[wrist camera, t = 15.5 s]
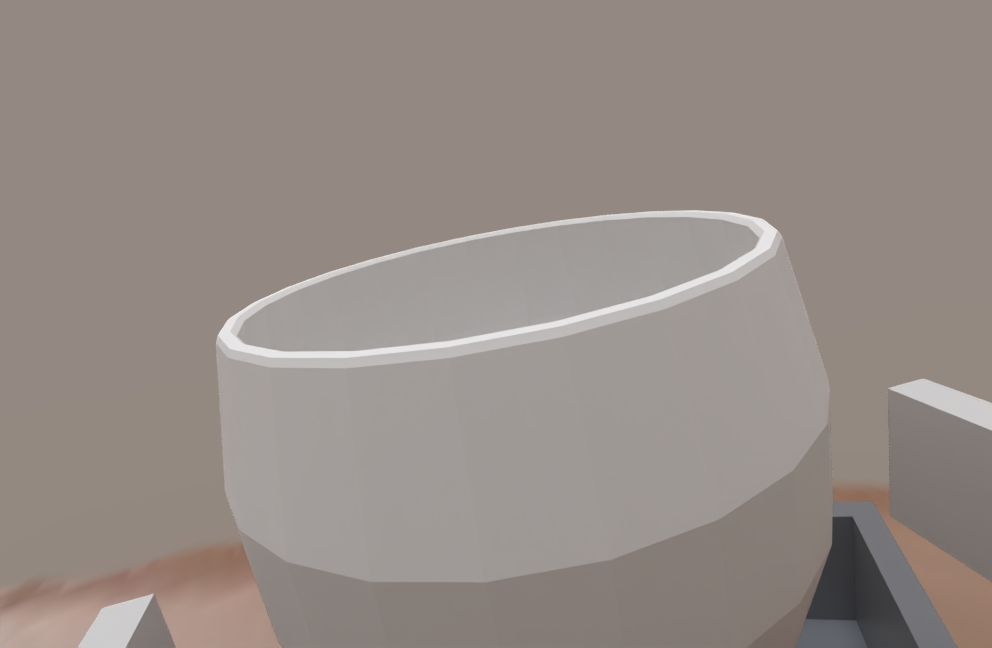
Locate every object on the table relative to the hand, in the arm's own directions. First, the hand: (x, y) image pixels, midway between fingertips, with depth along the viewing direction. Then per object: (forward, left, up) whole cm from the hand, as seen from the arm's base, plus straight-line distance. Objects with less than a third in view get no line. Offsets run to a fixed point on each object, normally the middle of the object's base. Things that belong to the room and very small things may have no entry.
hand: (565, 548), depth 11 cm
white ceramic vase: (-1, +2, -10) cm, 10 cm away
